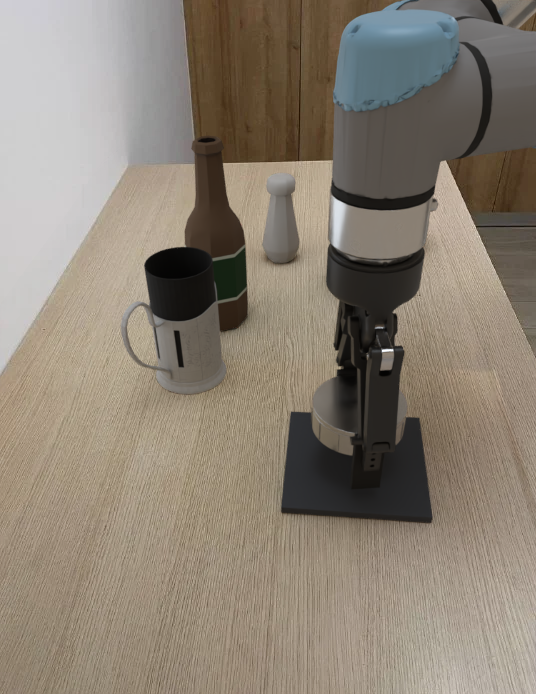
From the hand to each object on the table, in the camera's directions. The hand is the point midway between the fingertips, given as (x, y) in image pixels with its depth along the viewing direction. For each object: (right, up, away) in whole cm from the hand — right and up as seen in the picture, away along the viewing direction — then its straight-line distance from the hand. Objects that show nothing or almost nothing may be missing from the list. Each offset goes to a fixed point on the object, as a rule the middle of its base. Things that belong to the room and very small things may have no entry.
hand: (355, 450), depth 64 cm
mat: (0, -2, +1) cm, 2 cm away
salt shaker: (-5, +28, +37) cm, 46 cm away
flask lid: (0, +5, -4) cm, 6 cm away
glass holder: (-19, +7, +13) cm, 24 cm away
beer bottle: (-14, +16, +24) cm, 33 cm away
